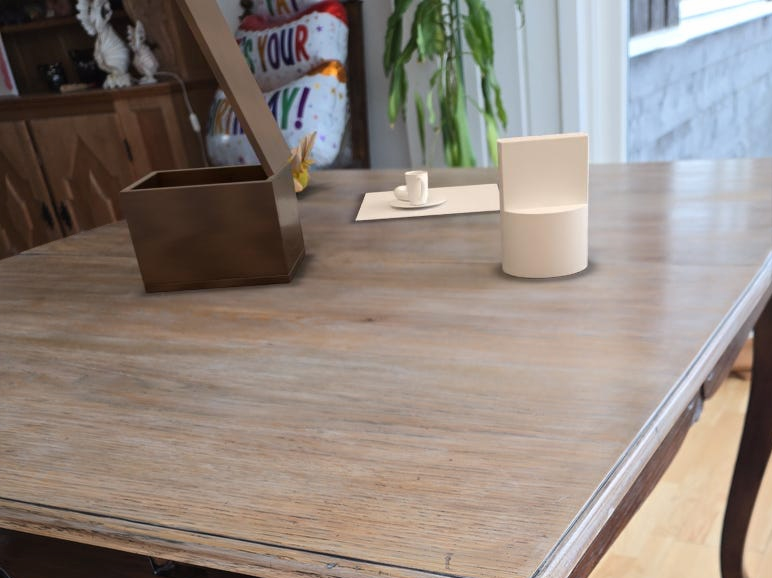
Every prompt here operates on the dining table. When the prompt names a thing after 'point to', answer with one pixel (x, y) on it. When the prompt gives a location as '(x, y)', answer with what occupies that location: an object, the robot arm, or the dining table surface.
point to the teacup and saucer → (428, 199)
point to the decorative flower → (302, 161)
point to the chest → (214, 227)
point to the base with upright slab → (544, 204)
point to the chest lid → (237, 82)
